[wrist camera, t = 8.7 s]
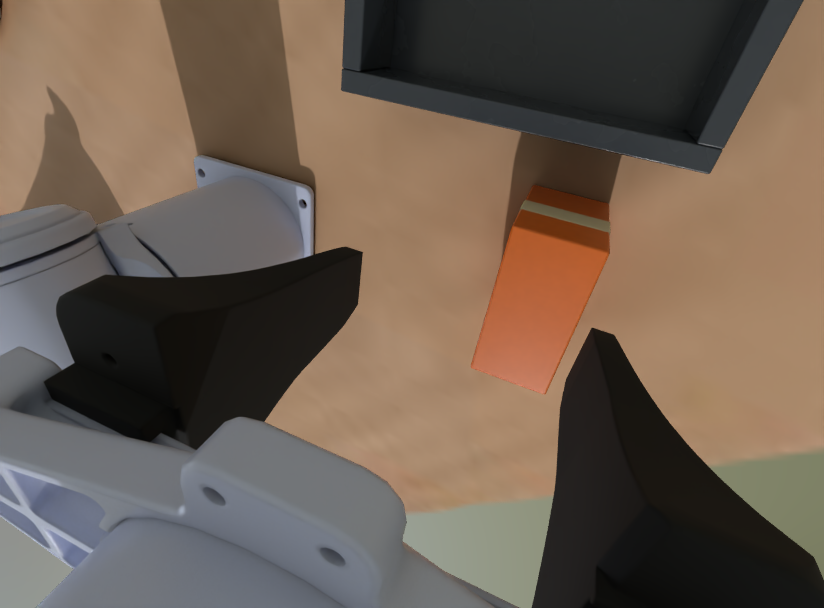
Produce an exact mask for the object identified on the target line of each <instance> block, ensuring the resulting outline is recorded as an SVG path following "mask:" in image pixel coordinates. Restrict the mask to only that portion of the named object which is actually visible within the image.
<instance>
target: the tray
mask: <svg viewBox="0 0 824 608" xmlns="http://www.w3.org/2000/svg"><path fill="white" fill-rule="evenodd" d="M803 1H804V0H345V15H344V39H343V64H342V66H343V68H344V69H342V83H341V90H342V91H344V92H349V93H353V94H358V95H362V96H366V97H371V98H375V99H380V100H384V101H388V102H393V103H397V104H402V105H406V106H410V107H415V108H419V109H424V110H428V111H432V112H437V113H441V114H446V115H450V116H454V117H459V118H463V119H468V120H472V121H476V122H481V123H485V124H490V125H494V126H498V127H503V128H507V129H512V130H516V131H521V132H525V133H529V134H534V135H538V136H543V137H547V138H551V139H556V140H560V141H565V142H569V143H573V144H578V145H582V146H587V147H591V148H595V149H600V150H604V151H609V152H613V153H617V154H622V155H626V156H631V157H635V158H639V159H644V160H648V161H653V162H657V163H661V164H666V165H670V166H675V167H679V168H683V169H688V170H692V171H697V172H701V173H705V174H710V173H711V171H712V169H713V167H714V165H715V164H716V162H717V160H718V158H719V156H720V154H721V152H722V149H723V148H724V147H725V145H726V143H727V141H728V139H729V138H730V136H731V134H732V132H733V130H734V128H735V126H736V125H737V123H738V121H739V119H740V117H741V115H742V113H743V112H744V110H745V108H746V106H747V104H748V102H749V101H750V99H751V97H752V95H753V93H754V91H755V89H756V88H757V86H758V84H759V82H760V80H761V78H762V76H763V75H764V73H765V71H766V69H767V67H768V65H769V64H770V62H771V60H772V58H773V56H774V54H775V52H776V51H777V49H778V47H779V45H780V43H781V41H782V39H783V38H784V36H785V34H786V32H787V30H788V28H789V27H790V25H791V23H792V21H793V19H794V17H795V15H796V14H797V12H798V10H799V8H800V6H801V4H802V2H803Z"/></svg>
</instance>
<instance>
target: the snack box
mask: <svg viewBox="0 0 824 608" xmlns="http://www.w3.org/2000/svg"><path fill="white" fill-rule="evenodd" d="M609 236H610V222H609V204H608V203H604V202H600V201H596V200H592V199H588V198H584V197H580V196H576V195H572V194H568V193H564V192H561V191H557V190H553V189H549V188H545V187H541V186H537V185H533V186H532V188H531V190H530V192H529V194H528V196H527V198H526V200H524V202H523V204H522V206H521V208H520V210H519V213H518V215H517V217H516V219H515V221H514V223H513V225H512V228H511V231H510V234H509V238H508V241H507V245H506V248H505V251H504V255H503V258H502V262H501V265H500V268H499V272H498V275H497V278H496V282H495V285H494V289H493V292H492V295H491V299H490V302H489V306H488V309H487V312H486V316H485V319H484V323H483V326H482V329H481V333H480V336H479V340H478V343H477V346H476V350H475V353H474V357H473V360H472V363H471V368H473V369H476V370H479V371H481V372H484V373H487V374H490V375H492V376H495V377H498V378H500V379H503V380H506V381H509V382H511V383H514V384H517V385H520V386H522V387H525V388H528V389H531V390H533V391H536V392H539V393H542V394H546V392H547V390H548V388H549V386H550V383H551V381H552V379H553V377H554V375H555V372H556V370H557V368H558V366H559V364H560V361H561V359H562V357H563V355H564V353H565V350H566V348H567V346H568V344H569V342H570V339H571V337H572V335H573V333H574V331H575V328H576V326H577V324H578V322H579V320H580V317H581V315H582V313H583V311H584V309H585V306H586V304H587V302H588V300H589V298H590V295H591V293H592V291H593V289H594V287H595V284H596V282H597V280H598V278H599V276H600V273H601V271H602V269H603V267H604V265H605V262H606V260H607V258H608V256H609V254H610V249H609Z"/></svg>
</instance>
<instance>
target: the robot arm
mask: <svg viewBox="0 0 824 608" xmlns="http://www.w3.org/2000/svg"><path fill="white" fill-rule="evenodd" d="M194 165H195V172H196V179H197V185H198V188H197V189H195V190H192V191H189V192H186V193H184V194H181V195H178V196H175V197H172V198H170V199H167V200H164V201H161V202H159V203H156V204H153V205H150V206H148V207H145V208H142V209H139V210H137V211H134V212H131V213H128V214H126V215H123V216H120V217H117V218H114V219H112V220H109V221H106V222H103V223H101V224H96V223H95V221H94V219H93V217H92V215H91V214H90V213H89V212H87V211H84V210H78V209H76V208H73V207H71V206H68V205H65V204H56V205H49V206H43V207H38V208H33V209H28V210H23V211H19V212H15V213H10V214H6V215H2V216H0V517H1V518H3V519H4V520H6V521H7V522H9V523H10V524H11V525H13V526H14V527H16V528H17V529H18V530H20V531H21V532H23V533H25V534H26V535H27V536H28V537H30V538H31V539H33V540H34V541H35V542H37V543H38V544H39V545H41V546H42V547H43V548H45V549H46V550H48V551H49V552H50V553H52V554H53V555H55V556H56V557H57V558H59V559H60V560H62V561H63V562H64V563H66V564H67V565H69V566H70V567H71V568H72V569H74V570H73V571H72V572H71V573H70V574H69V575H68V576H67V577H66V578H65V579H64V580H63V581H62V582H61V583H60V584H59V585H58V586H57V587H56V588H55V589H54V590H53V591H52V592H51V593H50V594H49V595H48V596H47V597H46V598H45V599H44V600H43V601H42V602H41V603H40V604H39V605H38V606H37V607H36V608H519V607H517V606H514V605H513V604H510V603H508V602H506V601H504V600H502V599H500V598H498V597H496V596H494V595H492V594H490V593H488V592H486V591H484V590H482V589H480V588H478V587H476V586H474V585H471V584H470V583H467V582H465V581H463V580H461V579H459V578H457V577H455V576H453V575H451V574H449V573H447V572H445V571H443V570H442V569H440V568H439V567H438V566H436V565H435V564H434V563H432V562H431V561H429V560H428V559H427V558H425V557H424V556H422V555H421V554H419V553H418V552H417V551H415V550H414V549H413V548H411V547H410V546H408V545H407V544H406V543H404V542H403V541H402V539H403V534H404V530H405V526H406V523H407V521H406V515H405V509H404V504H403V502H402V500H401V498H400V497H399V496H398V495H397V494H396V492H395V491H394V490H393V489H392V487H391V486H390V485H389V484H388V482H387V481H385V480H384V479H382V478H381V477H379V476H377V475H376V474H374V473H373V472H371V471H370V470H368V469H367V468H365V467H363V466H361V465H358V464H356V463H354V462H352V461H349V460H347V459H345V458H343V457H341V456H338V455H336V454H334V453H332V452H330V451H327V450H325V449H323V448H321V447H318V446H316V445H314V444H312V443H310V442H307V441H305V440H303V439H301V438H299V437H296V436H294V435H292V434H290V433H287V432H285V431H283V430H281V429H279V428H276V427H274V426H272V425H270V424H267V423H265V422H264V421H265V420H266V418H267V417H268V416H269V414H270V413H271V411H272V410H273V408H274V407H275V405H276V404H277V403H278V401H279V400H280V399H281V397H282V396H283V394H284V393H285V392H286V390H287V389H288V388H289V386H290V385H291V384H292V382H293V381H294V380H295V379H296V377H297V376H298V375H299V374H300V373H301V371H302V370H303V369H304V368H305V367H306V366H307V365H308V364H309V363H310V362H311V361H312V360H313V359H314V357H315V356H316V355H317V354H318V353H319V352H320V351H321V350H322V349H323V348H324V347H325V346H326V345H327V344H328V342H329V341H330V340H331V339H332V338H333V337H334V336H335V335H336V334H337V333H338V332H339V330H340V329H341V328H342V327H343V326H344V324H345V323H346V321H347V320H348V319H349V317H350V316H351V314H352V313H353V311H354V310H355V308H356V306H357V305H358V297H359V286H360V276H361V265H362V254H363V252H360V251H357V250H354V249H351V248H348V247H341V248H336V249H333V250H329V251H325V252H322V253H318V254H315V255H313V246H314V193H313V191H312V189H311V188H310V187H309V186H307V185H305V184H302V183H298V182H295V181H291V180H288V179H284V178H281V177H277V176H274V175H271V174H267V173H264V172H260V171H257V170H253V169H250V168H246V167H243V166H239V165H236V164H233V163H229V162H226V161H222V160H219V159H215V158H212V157H208V156H205V155H199V156H196V157H195V159H194ZM203 171H204V172H205V174H204V172H203ZM303 200H305V202H306V204H307V206H306V205H304V203H303ZM532 608H824V580H823V577H822V575H821V572H820V570H819V568H818V565H817V563H816V561H815V559H814V557H813V556H811V555H810V554H809V553H808V552H807V551H805V550H804V549H803V548H802V547H800V546H799V545H798V544H797V543H795V542H794V541H793V540H791V539H790V538H788V536H786V535H785V534H784V533H783V532H781V531H780V530H779V529H777V528H776V527H775V526H774V525H772V524H771V523H770V522H769V521H767V520H766V519H765V518H764V517H762V516H761V515H760V514H759V513H758V512H757V511H755V510H754V509H753V508H752V507H751V506H750V505H749V504H747V503H746V502H745V501H744V500H743V499H742V498H741V497H740V496H739V495H737V494H736V493H735V492H734V491H733V490H732V489H731V488H730V487H729V486H728V485H727V484H726V483H724V482H723V481H722V480H721V479H720V478H719V477H718V476H717V475H716V474H715V473H714V472H713V471H712V470H711V469H710V468H709V467H708V466H707V465H706V464H705V463H704V462H703V461H702V459H701V458H700V457H699V456H698V455H697V454H696V453H695V452H694V451H693V450H692V449H691V448H690V447H689V445H688V444H687V443H686V442H685V441H684V440H683V438H682V437H681V436H680V435H679V434H678V432H677V431H676V430H675V429H674V428H673V426H672V425H671V424H670V423H669V421H668V420H667V419H666V418H665V416H664V415H663V414H662V412H661V411H660V409H659V408H658V407H657V405H656V404H655V402H654V401H653V399H652V398H651V397H650V395H649V393H648V392H647V390H646V389H645V387H644V386H643V384H642V383H641V381H640V379H639V378H638V376H637V374H636V373H635V371H634V369H633V368H632V366H631V364H630V362H629V360H628V359H627V357H626V355H625V353H624V352H623V350H622V348H621V346H620V344H619V342H618V341H617V339H616V337H615V336H614V335H613V334H610V333H607V332H604V331H601V330H598V329H595V328H591V330H590V332H589V334H588V336H587V338H586V340H585V342H584V344H583V346H582V348H581V350H580V352H579V354H578V356H577V358H576V360H575V362H574V365H573V367H572V369H571V371H570V373H569V375H568V377H567V379H566V382H565V387H564V392H563V396H562V402H561V407H560V418H559V435H558V453H557V472H556V483H555V491H554V497H553V503H552V509H551V515H550V520H549V526H548V531H547V536H546V542H545V547H544V552H543V557H542V562H541V567H540V572H539V577H538V582H537V586H536V591H535V596H534V601H533V605H532Z"/></svg>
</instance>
